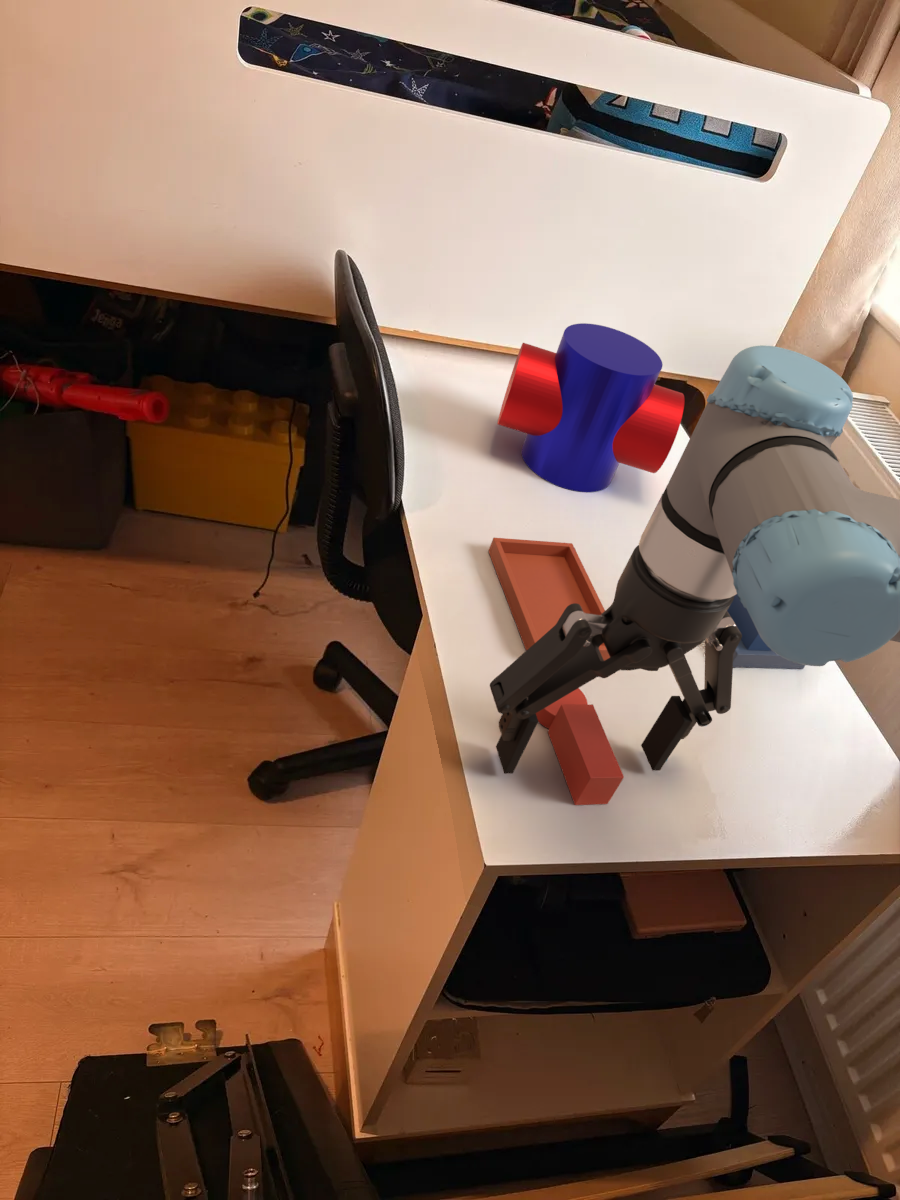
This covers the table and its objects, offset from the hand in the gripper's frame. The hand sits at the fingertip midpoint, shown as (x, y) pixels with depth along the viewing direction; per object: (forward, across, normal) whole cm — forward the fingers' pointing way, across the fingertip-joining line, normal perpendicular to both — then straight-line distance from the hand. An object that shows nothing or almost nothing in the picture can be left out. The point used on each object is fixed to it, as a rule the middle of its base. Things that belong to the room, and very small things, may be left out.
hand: (579, 759), depth 75 cm
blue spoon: (+1, -26, -20) cm, 33 cm away
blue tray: (+1, -26, -20) cm, 33 cm away
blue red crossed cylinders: (+2, -15, -47) cm, 49 cm away
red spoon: (+1, 0, -2) cm, 2 cm away
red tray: (+1, -4, -20) cm, 20 cm away
